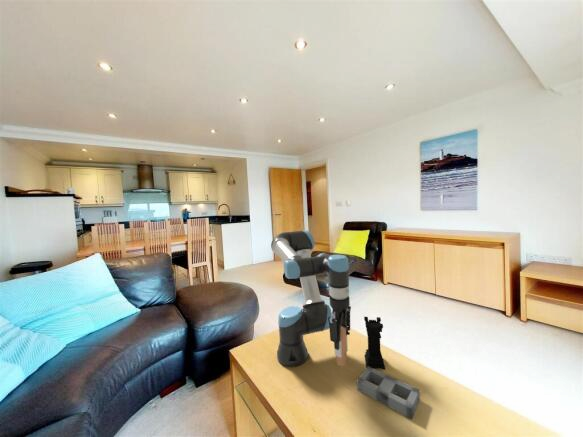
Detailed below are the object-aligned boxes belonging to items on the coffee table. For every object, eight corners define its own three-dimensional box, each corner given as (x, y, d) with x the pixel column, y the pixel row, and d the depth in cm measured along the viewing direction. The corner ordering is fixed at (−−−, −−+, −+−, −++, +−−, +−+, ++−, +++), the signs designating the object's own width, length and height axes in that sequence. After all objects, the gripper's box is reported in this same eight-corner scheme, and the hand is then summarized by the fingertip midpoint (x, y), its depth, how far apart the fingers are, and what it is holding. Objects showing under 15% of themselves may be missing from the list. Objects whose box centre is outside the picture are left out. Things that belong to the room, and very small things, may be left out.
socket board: (357, 389, 93) (356, 380, 93) (368, 374, 101) (367, 366, 100) (411, 419, 80) (411, 408, 79) (419, 399, 87) (419, 389, 87)
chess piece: (385, 369, 103) (384, 326, 102) (366, 367, 105) (365, 325, 103) (382, 357, 111) (380, 316, 109) (364, 356, 113) (363, 316, 111)
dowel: (334, 362, 92) (333, 329, 91) (339, 357, 95) (338, 324, 94) (343, 367, 90) (342, 332, 88) (348, 361, 93) (347, 327, 91)
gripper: (336, 306, 81) (338, 369, 83) (358, 290, 94) (359, 345, 96) (318, 301, 86) (321, 360, 88) (341, 286, 99) (343, 338, 101)
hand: (341, 352), depth 92 cm, fingers closed on dowel, 4 cm apart
